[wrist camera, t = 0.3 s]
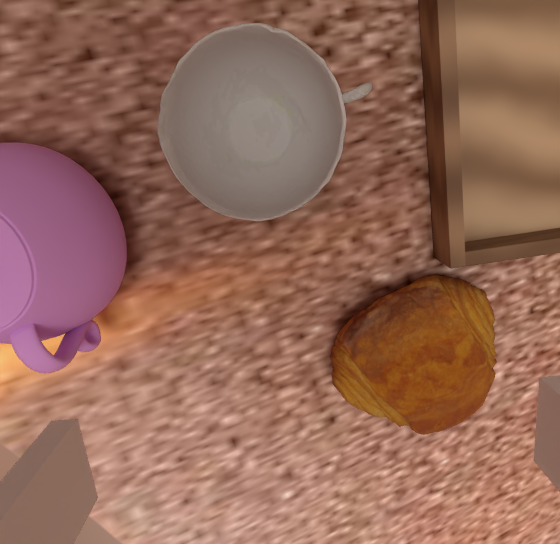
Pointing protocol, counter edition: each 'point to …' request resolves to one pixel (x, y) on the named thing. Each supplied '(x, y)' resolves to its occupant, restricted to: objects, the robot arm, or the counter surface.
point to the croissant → (419, 354)
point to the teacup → (253, 121)
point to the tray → (492, 127)
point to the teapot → (54, 254)
